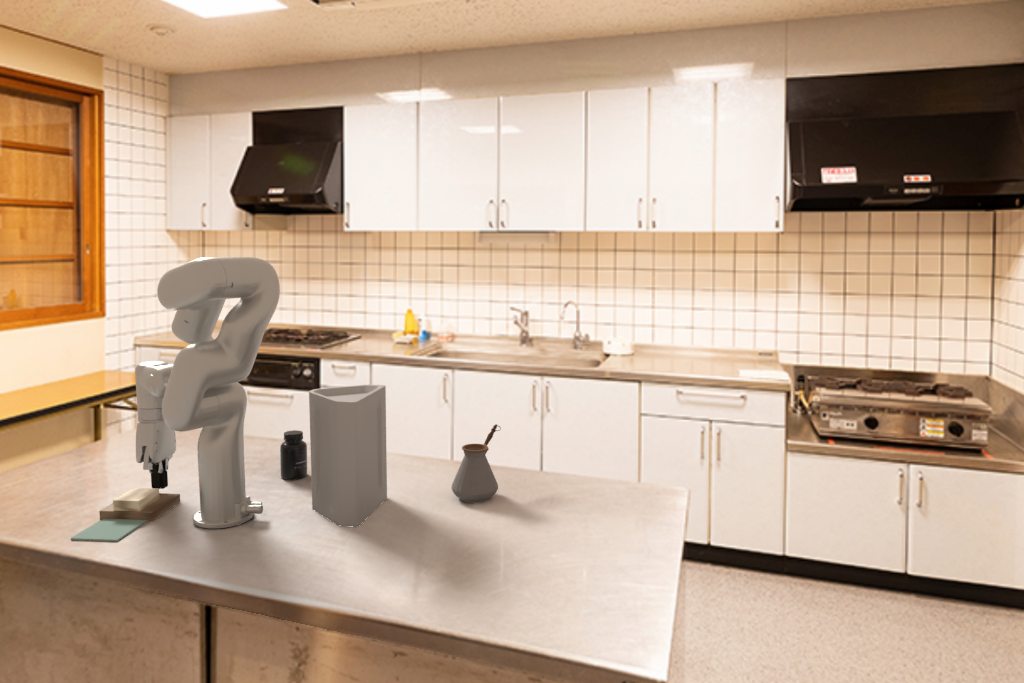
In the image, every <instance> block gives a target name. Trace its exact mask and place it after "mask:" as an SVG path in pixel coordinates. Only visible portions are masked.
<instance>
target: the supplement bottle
mask: <svg viewBox="0 0 1024 683" xmlns="http://www.w3.org/2000/svg"><path fill="white" fill-rule="evenodd" d="M279 448H280V449H279V451H280V453H279V454H280V455H279V456H280V457H279V458H280V459H279V460H280V477H281V478H282V479H283V480H290V481H292V480H293V481H294V479H296V480H300V479H304V478H306V476H307V475H308V445H307V442H305V441H304V432H303V431H302V430H299V429H298V430H295V429H294V430H287V431H285V432H284V433H283V442H282V443H281V444H280V447H279Z"/></svg>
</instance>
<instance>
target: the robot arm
mask: <svg viewBox="0 0 1024 683" xmlns="http://www.w3.org/2000/svg"><path fill="white" fill-rule="evenodd" d="M157 284H158V285H157V292H156V293H157V294H156V295H157V300H158V301H159V303H160V305H161V306H162V307H163V308H165V309H167V310H169V311H176V312H175V314H174V317H173V320H172V322H171V332H172V333H173V334H174V336H175V337H176V338H178V340H180V341H182V342H184V343H185V344H188V345H186V346H185V347H183V348H182V349H181V350H180V351H179V352H178V353H177V354H176V356H175V359H174V362H173V363H168V362H167V361H163V360H148V361H142V362H140V363H138V364H136V366H135V368H134V374H135V375H134V378H135V389H136V390H135V393H136V405H137V420H138V421H137V424H136V430H135V431H136V432H135V460H136V462H137V463H138V464H142V463H143V464H142V469H143V470H144V471H146V470H148V472H149V473H150V483H151V489H159V490H160V489H161V490H163V489H165V488H167V487H168V486H169V481H168V480H169V479H168V470H169V462H170V460H171V459H172V458H173V457H174V456H173V455H174V454H175V453H176V452H177V438H176V432H180V433H181V432H183V433H184V432H189V431H193V430H197V429H201V431H200V433H199V436H198V440H197V446H196V447H197V466H198V467H197V468H198V485H199V486H198V487H199V491H198V492H199V506H200V509H199V510H198V511H196V513H194V515H193V517H192V519H193V524H194V525H195V526H196V527H199V528H204V529H213V530H214V529H225V528H230V527H235V526H239V525H241V524H245V523H246V522H248V521H250V520H251V519H252V518H253V517H254V515H261V514H262V513H263V511H264V506H263V502H262V501H259V502H258V501H252V500H251V495H250V494H246V492H247V491H246V490H247V489H246V473H245V472H246V468H245V442H244V440H245V439H244V432H245V431H244V428H245V418H246V414H247V413H246V412H247V405H248V403H247V402H248V399H247V398H248V397H247V392H246V390H245V388H244V387H243V385H242V384H241V383H239V382H241V381H242V382H243V380H245V379H247V378H248V377H249V375H250V374H251V372H252V369H253V366H254V364H255V362H256V358H257V356H258V353H259V350H260V347H261V344H262V341H263V338H264V335H265V332H266V330H267V328H268V325H269V323H270V322H271V320H272V318H273V316H274V314H275V312H276V309H277V307H278V305H279V304H278V303H279V300H280V293H281V286H280V284H281V283H280V280H279V276H278V274H277V271H276V269H275V267H274V266H273V265H271V263H269V262H268V261H266V260H264V259H261V258H259V257H251V256H221V257H220V256H219V257H218V256H217V257H216V256H214V257H199V258H196V259H192V260H191V261H188V262H186V263H184V264H181V265H180V264H179V265H178V266H175V267H173V268H171V269H169V270H168V271H166V272H165V273H164V274H163V275H162V276H161V278H160V280H159V281H158V283H157ZM229 299H240V300H239V301H238V302H237V303H236V304H234V306H233V307H232V308H231V309H230V311H228V312H227V314H226V316H225V317H224V319H223V320H222V323H221V328H220V330H219V332H218V335H217V337H216V338H213V333H214V330H215V328H216V325H217V323H218V321H219V318H220V316H221V313H222V311H223V307H224V304H225V302H226V300H229Z"/></svg>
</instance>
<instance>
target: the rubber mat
mask: <svg viewBox="0 0 1024 683" xmlns="http://www.w3.org/2000/svg"><path fill="white" fill-rule="evenodd" d="M147 522H148V521H147V520H133V519H105V518H103V519H102V520H100V519H99V521H97V522H96V523H93V524H92V525H90V526H88V527H87V528H85V529H83V530H81V531H80V532H79V533H76V534H75V535H74V536H72V537H71V538H70V541H85V540H89V541H90V542H93V541H94V542H112V541H118V542H119V541H120V539H121V538H122V539H123V537H124V536H125V537H127V536H128V535H130V534H131V533H133V532H134V531H135V530H137V529H138V528H140V527H142V526H143V525H144V524H146V523H147ZM127 534H128V535H127ZM126 535H127V536H126ZM125 537H124V538H125ZM122 539H121V540H122ZM91 540H93V541H91ZM89 541H88V542H89Z"/></svg>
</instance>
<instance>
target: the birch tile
mask: <svg viewBox="0 0 1024 683" xmlns="http://www.w3.org/2000/svg"><path fill="white" fill-rule="evenodd" d="M159 493H160V489H155V488H146V487H144V488H143V487H134V488H132V489H130V490H128V491H127V492H125V493H123V494H120V496H118V497H116V498H115V499H112V503H113V507H114V511H141V510H143V509H144V508H146V507H147V506H149V505H151V504H152V503H154V502H155V501H157V500H158V499H160V498H159Z"/></svg>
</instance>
